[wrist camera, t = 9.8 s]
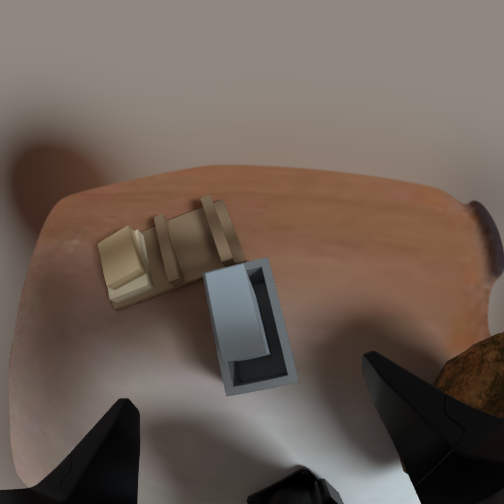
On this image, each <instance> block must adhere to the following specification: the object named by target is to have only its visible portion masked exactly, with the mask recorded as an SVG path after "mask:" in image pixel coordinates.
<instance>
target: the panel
mask: <svg viewBox="0 0 504 504" xmlns="http://www.w3.org/2000/svg"><path fill="white" fill-rule="evenodd" d="M205 275H206V280H207V286H208V291H209V297H210V302H211V307H212V312H213V317H214V322H215V327H216V332H217V337H218V341H219V346H220V351H221V355H222V360H223V362H230V361H241V360H249V359H253V358H258V357H262V356H266V355H270V354H271V352H270V348H269V344H268V340H267V336H266V332H265V328H264V324H263V320H262V316H261V311H260V307H259V303H258V301H257V298H256V295H255V293H254V290H253V287H252V285H251V282H250V280H249V277H248V274H247V272H246V269H245V266H244V264H242V265H238V266H234V267H230V268H226V269H222V270H218V271H214V272H210V273H206V274H205Z"/></svg>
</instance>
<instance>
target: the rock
mask: <svg viewBox="0 0 504 504" xmlns="http://www.w3.org/2000/svg"><path fill="white" fill-rule="evenodd" d="M433 386H434V387H436V388H438V389H439V390H441V391H443V392H444V394H445V393H446V394H448V395H450V396H452V397H453V398H455V399H457V400H459V401H461V402H463V403H465V404H467V405H469V406H472V407H474V408H476V409H479V410H481V411H484V412H486V413H489V414H491V415H494V416H497V417H500V418H504V332H503V333H499V334H496V335H494V336H492V337H489V338H487V339H485V340H483V341H480V342H478V343H476V344H474V345H472V346H471V347H470V348H469V349H467V350H466V351H465V352H463V353H461V354H460V355H458V356H456V357H454V358H453V359H451V360H449V361H447V362H446V364H445V366H444V367H443V369H442V371H441V372H440V374H439V376H438V377H437V379H436V381H435V382H434V384H433ZM398 455H399V454H398ZM399 458H400V456H399ZM400 461H401V464H402V467H403V471H404V472H405V473H407V471H406V469H405V467H404V465H403V462H402V460H401V458H400ZM407 474H408V473H407Z"/></svg>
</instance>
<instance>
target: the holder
mask: <svg viewBox="0 0 504 504" xmlns="http://www.w3.org/2000/svg"><path fill="white" fill-rule="evenodd" d="M242 264H244V266H245V269H246V272H247V274H248V277H249V280H250V282H251V285H252V287H253V290H254V293H255V295H256V298H257V301H258V303H259V307H260V311H261V316H262V320H263V324H264V328H265V332H266V336H267V340H268V344H269V348H270V352H271V354H270V355H266V356H262V357H258V358H253V359H249V360H241V361H230V362H223V360H222V355H221V351H220V346H219V341H218V337H217V332H216V327H215V322H214V317H213V312H212V307H211V302H210V297H209V291H208V286H207V280H206V275H205V274H206V273H210V272H214V271H218V270H222V269H226V268H230V267H234V266H238V265H242ZM202 274H203V280H204V286H205V292H206V298H207V303H208V309H209V314H210V320H211V325H212V330H213V335H214V341H215V346H216V350H217V355H218V360H219V365H220V370H221V374H222V379H223V383H224V388H225V392H226V396H232V395H238V394H244V393H249V392H254V391H259V390H264V389H269V388H273V387H278V386H282V385H286V384H290V383H294V382H298V381H299V380H298V376H297V371H296V367H295V363H294V359H293V355H292V351H291V347H290V343H289V339H288V335H287V330H286V326H285V322H284V318H283V314H282V310H281V306H280V302H279V298H278V294H277V291H276V287H275V283H274V279H273V275H272V271H271V267H270V263H269V259H268V257H266V258H262V259H258V260H254V261H250V262H246V263H241V264H237V265H233V266H229V267H225V268H220V269H216V270H212V271H208V272H203V273H202Z"/></svg>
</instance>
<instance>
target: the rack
mask: <svg viewBox="0 0 504 504" xmlns="http://www.w3.org/2000/svg"><path fill="white" fill-rule="evenodd" d="M201 201H202V205H203V207H201V208H198V209H196V210H193V211H191V212H188V213H186V214H183V215H181V216H178V217H176V218H174V219H171V220H169V221H168V220H167V218H166V217H165V216H164V214H161V215H158V216H156V217H154V221H155V226H154V227H152V228H150V229H147V230H145V231H143V232H140V231H139V230H135V231H133V230H132V229H131V228H130V227H129V226H126V227H125V228H123V229H121V230H119V231H118V232H116V233H114V234H113V235H111V236H109V237H108V238H106V239H104V240H103V241H101V242H99V243H98V248H99V254H100V259H101V263H102V268H103V273H104V277H105V281H106V285H107V287H108V292H109V298H110V300H111V301H112V304H113V309H114V310H116V311H117V310H120V309H122V308H125V307H128V306H131V305H133V304H136V303H139V302H141V301H144V300H147V299H149V298H152V297H155V296H157V295H160V294H163V293H166V292H168V291H171V290H174V289H176V288H179V287H182V286H184V285H187V284H190V283H192V282H195V281H198V280H200V279H203V274H202V273H203V272H208V271H212V270H216V269H220V268H225V267H229V266H233V265H237V264H241V263H245V262H247V261H246V258H245V256H244V253H243V251H242V248H241V245H240V243H239V240H238V238H237V235H236V232H235V230H234V227H233V225H232V222H231V219H230V217H229V214H228V212H227V209H226V206H225V204H224V201H223V199H222V200H219V201H217V202H214V203H213V200H212V198H211V195H208V196H205V197H202V198H201Z"/></svg>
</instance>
